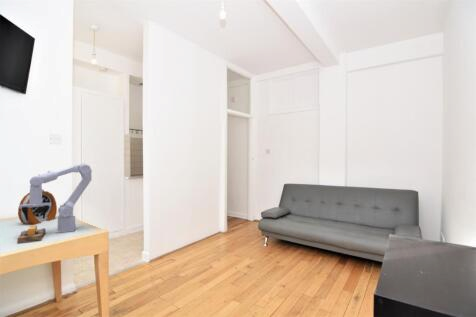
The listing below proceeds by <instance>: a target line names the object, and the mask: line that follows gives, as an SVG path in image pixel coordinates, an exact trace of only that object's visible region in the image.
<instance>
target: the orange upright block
mask: <svg viewBox="0 0 476 317" xmlns="http://www.w3.org/2000/svg"><path fill="white" fill-rule="evenodd" d="M36 229H38V225H31V226H29V227H28V228H27V230H28V235H37V233H35V230H36Z"/></svg>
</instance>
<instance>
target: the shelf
mask: <svg viewBox="0 0 476 317" xmlns="http://www.w3.org/2000/svg"><path fill="white" fill-rule="evenodd" d="M35 233H37V235H28V229H25V230H21V231H20V235H19V236H17V240H16V242H17V245H19V244H25V243H34V242H41V241H42V240H43V238H44V236H45V234H46V228H37V229H36V230H35Z"/></svg>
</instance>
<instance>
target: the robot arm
mask: <svg viewBox="0 0 476 317" xmlns="http://www.w3.org/2000/svg"><path fill="white" fill-rule="evenodd" d="M92 171H93V170H92V169H91V167H90V165H89V164H86V163H80V164H76V165H72V166H69V167H66V168H63V169H60V170H58V171H54V170H51V171H50V170H48V171H47V172H45V173H42V174H38V175H37V176H32V177H31V178H30V179H29V185H30V186H29V193H30V204H22V205H20V204H19V205H18V208H22V209H21V210H22V212H23V213H24V215H25V218H26V220H28V208H30V207H43V219H44V218H45V214H46V211H47V209H48V207H49V206H51V203H42V190H43V187H42V186H43V184H47V183H50V182H54V181H56V180H57V179H58V178H59V177H61V176H65V175H68V174H71V173H78V174H80V176H81V180H80V182H79V183H78V184H77V186H75V187H76V188H75V189H74V190H73V192H72V193H71V194H70V196H69V197H68V199H67V200H66V201H65V202H63V203H64V204H63V203H62V204H63V205H62V206H61V207H60V206H59V208H57V211H58V213H59V215H58V216H57V229H56V232H55V233H56V234H58V233H66V232H67V233H68V232H75V231H76V227H77V225H76V215H73V216H72V215H71V213H72V209H73V210H74V206H75V205H76V203H77V202H78V200H79V199H80V198H81V196H82V195H83V193H84V191H85V190H86V188H87V187H88V186H89V184H90V183H91V181H92Z"/></svg>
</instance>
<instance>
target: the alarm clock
mask: <svg viewBox="0 0 476 317" xmlns="http://www.w3.org/2000/svg"><path fill="white" fill-rule="evenodd" d="M42 203H51V206H49V207H48V209H47V211H46V214H45V218H44V219H43V207H30V208H28V220H26V218H25V215H24V213H23V212H22V210H21V209H22V208H19V207H18V210H17V215H18V216H17V217H18V219H19V221H20V222H21V224H22V223H23V224H24V225H32V226H37V225H39V224H42V223H43V222H46V221H47V222H50V221H53V220H55V218H56V215H57V211H58V207H57V201H56V198H55V196H54V195H53V194H52V193H51V192H50V191H48V190H47V191H45V190H44V189H42ZM22 204H30V192H28V193H27V194H25V195H24V196H23V197H22V199H21V200H20V202H19V205H22Z"/></svg>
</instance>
